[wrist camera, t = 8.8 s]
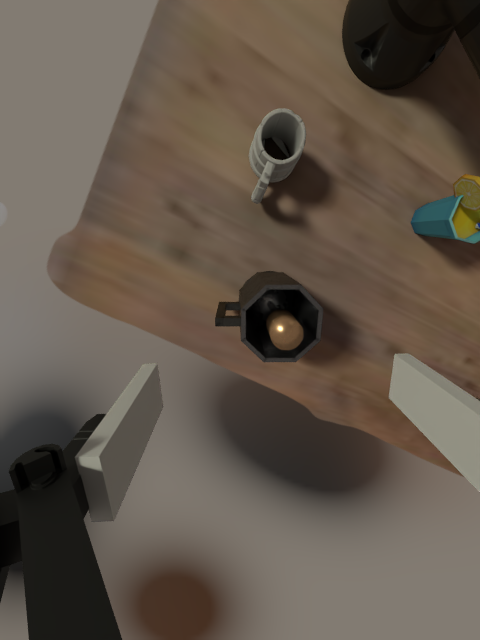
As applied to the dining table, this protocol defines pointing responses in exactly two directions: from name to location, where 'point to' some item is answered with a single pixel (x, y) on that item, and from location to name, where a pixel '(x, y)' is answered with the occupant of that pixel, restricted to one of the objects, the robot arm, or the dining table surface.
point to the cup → (452, 213)
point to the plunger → (278, 319)
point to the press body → (255, 327)
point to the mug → (280, 129)
